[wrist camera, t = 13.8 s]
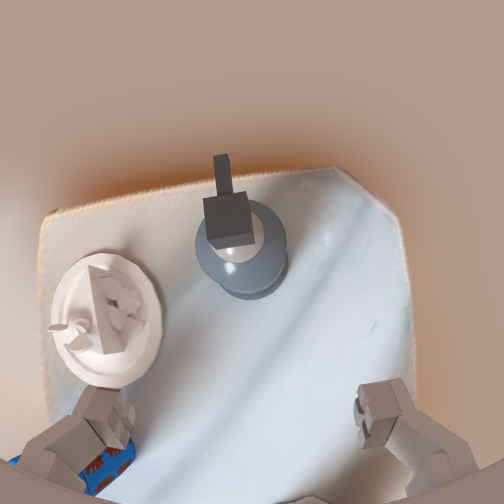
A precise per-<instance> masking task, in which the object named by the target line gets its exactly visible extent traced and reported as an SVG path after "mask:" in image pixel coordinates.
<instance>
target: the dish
mask: <svg viewBox="0 0 504 504" xmlns="http://www.w3.org/2000/svg"><path fill="white" fill-rule="evenodd" d="M51 323H52V325H51V326H50V327H49V328H48V329H47V332H52V333H53V337H54V340H55V343H56V347H57V350H58V352H59V354H60V355H61V357H62V358H63V360H64V362H65V363H66V365H67V366H68V368H69V369H70V370H71V371H72V372H73V373H75V374H76V375H77V376H78V377H79V378H81V379H82V380H83V381H84V382H86V383H89V384H92V385H95V386H99V387H106V388H116V387H124V386H127V385H128V384H130V383H132V382H134V381H135V380H137V379H139V378H140V377H142V376H144V374H145V373H146V372H147V370H148V369H149V368H150V366H151V365H152V363H153V362H154V361H155V359H156V358H157V355H158V352H159V348H160V344H161V341H162V337H163V334H164V332H163V310H162V306H161V303H160V300H159V297H158V295H157V292H156V289H155V286H154V284H153V283H152V282H151V280H150V279H149V278H148V277H147V275H146V274H145V273H144V272H143V270H142V269H141V268H140V267H139V266H138V265H136V264H134V263H132V262H131V261H129V260H127V259H126V258H124V257H122V256H120V255H115V254H106V253H98V254H94V255H91V256H88V257H85V258H82V259H81V260H79V261H78V262H77V263H76V264H75V265H73V266H72V267H71V268H70V269H69V270H67V272H66V273H65V275H64V277H63V278H62V280H61V281H60V283H59V285H58V286H57V288H56V292H55V296H54V300H53V304H52V308H51Z"/></svg>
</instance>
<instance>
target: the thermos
mask: <svg viewBox="0 0 504 504" xmlns="http://www.w3.org/2000/svg"><path fill="white" fill-rule="evenodd" d="M20 456H21V455H19V456H17V457H15V458H13V459H11V460H9V461H8V463H10V464H12V465H14V466H16V464H17V462H18V460H19V458H20ZM134 457H135V449H134V444H133V443H132V441H131V439H130V438H129V441H128V445H127V448H126V450H125V449H118V448H112V447H107V446H106V449H105V450H104V451H102V452H101V453H100V454H99V455H98V456H97V457H96V458H95V459H94V460H93V461H92V462H91V463H90V464H89V465H88V466H87V467H86V468H84V469H83V470H82V471H81V472H80V473H79V474H78V475H77V476H78V477H79V478H80V479H81V480H83V481H84V482H85V484H86V488H85V491H84V494H87V495H90V496H94V497H95V496H96V495H97V494H98V493H100V492H101V491H102V490H103V489H104V488H106V487H107V486H108V485H109V484H110V483H112V482H113V481H114V480H115V479H116V478H118V477H119V476H120V475H121V474H122V473H123V472H124V471H125V470H126V469H127V468H128V467H129V466H130V465H131V463H132V462H133V461H134Z"/></svg>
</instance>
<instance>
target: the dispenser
mask: <svg viewBox="0 0 504 504" xmlns="http://www.w3.org/2000/svg"><path fill="white" fill-rule="evenodd" d="M248 201H249V205H250V211H251V218H252V225H253V231H254V238H255V244H251V245H245V246H238V247H232V248H225V249H219V250H215V249H214V247H213V246H212V245H211V244H210V243H209V242H208V241H207V235H206V225H205V218H204V220H203V221H202V223H201V225H200V226H199V229H198V232H197V235H196V242H195V247H196V255H197V258H198V261H199V263H200V265H201V267H202V269H203V270H204V271H205V273H206V274H207V275H208V276H209V277H210V278H212V279H213V280H214V281H216V282H217V283H219V284H220V285H221V286H222V288H223V289H224V290H225V291H227V292H228V293H229V294H231V295H233V296H235V297H237V298H240V299H245V300H256V299H261V298H263V297H266V296H268V295H270V294H271V293H273V292H274V291H275V290H276V289H277V288H278V287H279V286H280V285H281V283H282V281H283V280H284V277H285V275H286V271H287V265H288V260H287V253H286V234H285V230H284V227H283V225H282V223H281V221H280V219H279V218H278V216H277V215H276V214H275V213H274V212H273V211H272V210H271V209H270V208H268V207H267V206H265V205H263V204H261V203H259V202H256V201H253V200H248Z"/></svg>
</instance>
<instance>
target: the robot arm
mask: <svg viewBox="0 0 504 504" xmlns="http://www.w3.org/2000/svg"><path fill="white" fill-rule="evenodd" d="M357 394H358V398H357V399H355V403H354V418H355V423H356V425H358V426H359V427H360V430H359V433H358V435H359V439H360V443H361V447H362V449H366V448H372V447H377V446H383V445H385V447H386V448H387V449H388V450H389V451H390V452H391V453H392V454H393V455H394V456H396V457H397V458H398V459H399V460H400V461H401V462H402V463H403V464H404V465H405V466H406V467H407V468H408V469H409V470H411V471H412V472H413V473H414V474H415V475H416V476H415V477H414V478H413V479H412V481H411V482H410V483H409V484H408V485H407V487H406V488H405V489H406V493H407V498H403V499H400V500H396V501H392V502H389V503H385V504H504V458H503V459H501V460H500V461H498V462H496V463H494V464H492V465H490V466H488V467H486V468H484V469H481V470H479V469H478V466H477V464H476V462H475V459H474V457H473V454H472V452H471V450H470V448H469V445H468V443H467V442H466V441H464V440H463V439H461V438H460V437H458V436H457V435H455V434H454V433H452V432H451V431H449V430H448V429H446V428H445V427H443V426H442V425H440V424H439V423H437V422H435V421H434V420H432V419H431V418H430V417H428V416H426V415H425V414H424V413H422V412H416V409H415V407H414V405H413V402H412V400H411V398H410V395H409V393H408V391H407V388H406V386H405V384H404V382H403V380H402V379H401V378H397V379H392V380H387V381H386V380H384V381H379V382H373V383H368V384H362V385H359V387H358V390H357ZM127 398H128V395H127V393H126V392H125V390H119V389H112V388H106V387H99V386H93V385H88V386H87V387H86V388H85V389H84V391H83V393H82V395H81V397H80V399H79V401H78V403H77V405H76V407H75V409H74V411H73V413H72V415H71V416H70V415H68V416H66V417H65V418H63V419H62V420H60V421H59V422H57V423H56V424H54V425H53V426H51V427H50V428H48V429H47V430H45V431H44V432H42V433H41V434H39V435H38V436H36V437H35V438H33V439H32V440H30V441H28V443H27V444H26V446H25V448H24V450H23V452H22V454H21V456H20V458H19V460H18V462H17V464H16V466H14V465H12V464H10V463H8V462H6V461H4V460H3V459H0V504H120V503H115V502H112V501H108V500H104V499H101V498H97V497H94V496H90V495H87V494H84V491H85V488H86V484H85V482H84V481H83V480H81V479H80V478H79V477H78V476H77V475H78V474H79V473H80V472H81V471H82V470H83V469H84V468H86V467H87V466H88V465H89V464H90V463H91V462H92V461H93V460H94V459H95V458H96V457H97V456H98V455H99V454H100V453H101V452H102V451H104V450H105V449H106V446H107V447H112V448H118V449H125V450H126V448H127V445H128V441H129V438H130V434H129V432H128V431H129V430H130V429H131V428H132V427H133V426H134V423H135V415H136V413H135V409H134V406H133V404H132V403H130V402H129V401H128V400H127ZM284 504H329V503H326V502H324V501H322V500H320V499H318V498H316V497H314V496H308V497H305V498H302V499H300V500H298V501H296V502H291V503H284Z"/></svg>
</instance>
